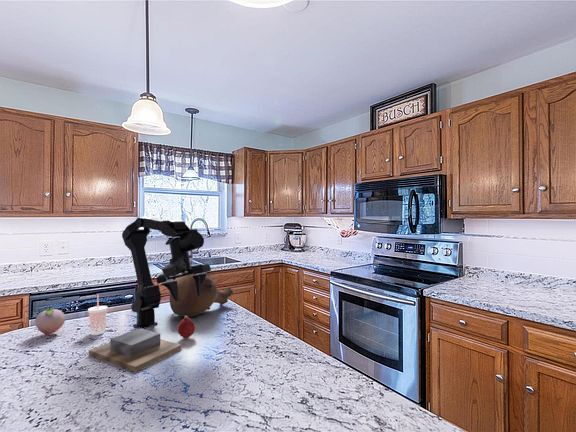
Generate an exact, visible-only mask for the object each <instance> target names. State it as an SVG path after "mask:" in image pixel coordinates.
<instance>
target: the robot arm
mask: <svg viewBox="0 0 576 432" xmlns="http://www.w3.org/2000/svg"><path fill="white" fill-rule="evenodd" d="M151 230H154V231H159V232H161V233H160V234H162V235H164V236H166V237H168V238H167V240H166V241H165V245H166V246H168V245H169V250H170V255H171V258H170V259H169V264H167V265H165V266H164V267H163V268H162V269H161V272H162V274H159V275H157V277H156V284H155V283H154V282H153V280H152V275H151V271H150V267H149V261H148V257H147V253H146V244H147V243H148V236H149V234H150V233H151ZM121 233H122V234H121V237H122V240H123V243H124V246H126V247H127V248H128V249H129V251H130V252H131V258H132V262H133V266H134V271H135V276H136V281H137V285H138V286H137V289H136V291H135V300H134V301H133V302H132V304H131V305H130V307H131V309H130V310H131V312H133V313H136V323H134V324H133V325H132V326H133V327H134V328H137V329H139V328H141V329H144V330H146V329H148V328H150V327H151V328H152V327H153V326H155V325H158V324H159V323H158V322H157V321H156V317H155V316H156V314H155V309H159V307H160V303H161V299H162V292H161V289H160V286H159V284H160V285H161V286H163V287H165V288H166V289H168V291H169V294H170V293H171V294H172V296H173V298H174V299H175V301H178V285H177V281H175V279H176V278H178V277H182V276H186V275H190V274H196V275H195V276H192V277H193V278H194V280H195V283H196V289H197V293H198V296H200V295H201V292H202V288H203V283H204V280H205V277H206V275H209V272H211V271H212V268H211V266H210V264H209V263H203V264H197V265H193V266H192V265H191V261H190V259H192V255H190V253H189V252H191V251H194V250H198V249H200V248H202V247H203V246H204V244H205V238H204V237H203V235H202V233H200V232H199V231H198V229H197V228H193V229H191V228H189V226H188V225H187V224H186V222H185V220H182V219H180V220H178V219H177V220H175V219H174V220H171V219H170V220H163V219H158V218H153V217H150V216H139V217H137V218H136V219H135V221H133V222H131V223H130V224H128V225H127V226H125V229H124V230H123V231H122V232H121ZM185 271H188V272H187V273H185Z"/></svg>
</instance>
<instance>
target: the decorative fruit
mask: <svg viewBox="0 0 576 432" xmlns="http://www.w3.org/2000/svg"><path fill="white" fill-rule="evenodd" d="M34 321H35V322H34V323H35V327H36V329H37V330H38V331H39V332H40V333H42V334H44V335H46V336H51V335H53V333H55V332H57V331H59V329H60V330H61V328H62V327H63V326H64V324H65V321H66V315H65V313H64V312H63V311H62V310H59V309H55V308H52V307H50V306H49V307H48V308H46V309H45V310H43V311H41V312H40V313H39V314H37V316H36V318H35V320H34Z"/></svg>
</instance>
